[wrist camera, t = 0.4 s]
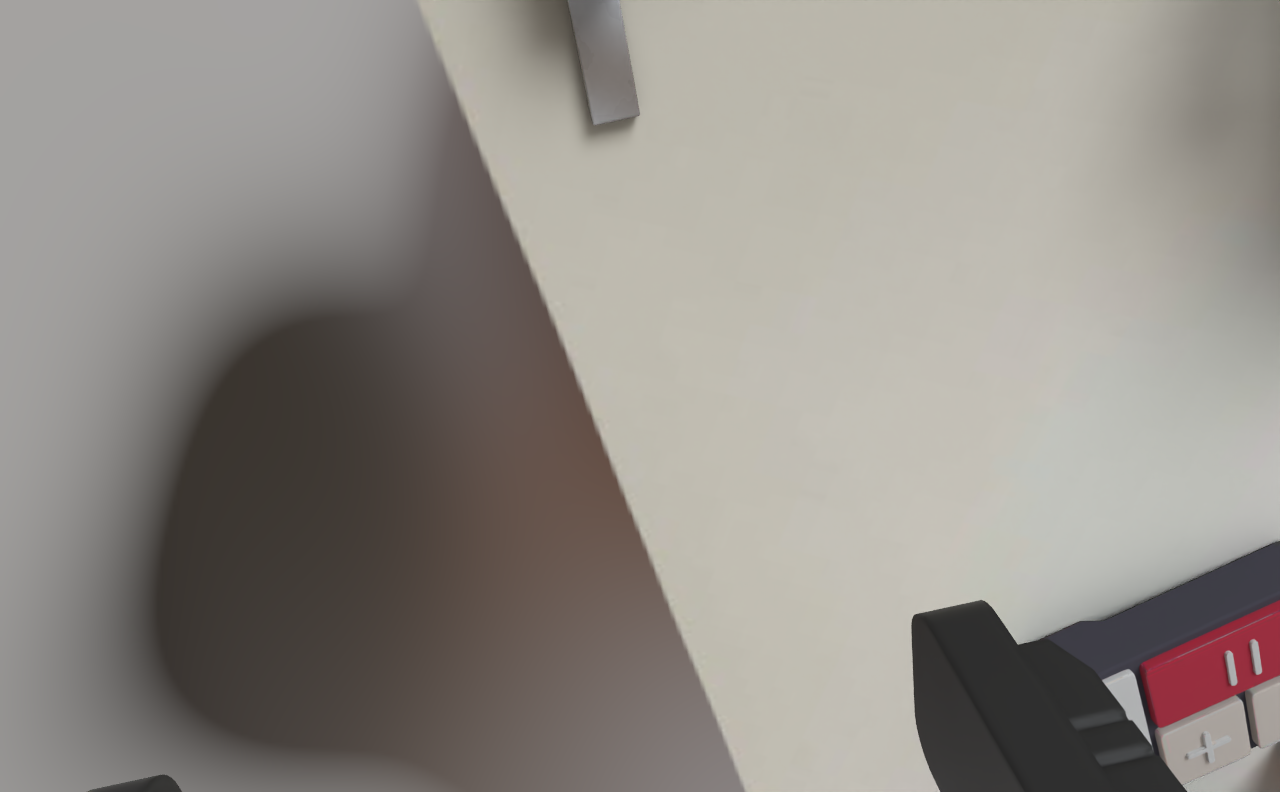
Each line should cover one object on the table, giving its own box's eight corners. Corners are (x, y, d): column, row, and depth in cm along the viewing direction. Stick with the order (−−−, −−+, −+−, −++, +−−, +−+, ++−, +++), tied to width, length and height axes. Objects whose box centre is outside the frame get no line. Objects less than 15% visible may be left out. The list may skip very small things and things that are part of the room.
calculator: (1352, 719, 52) (1099, 833, 52) (1291, 665, 56) (1056, 771, 56) (1341, 579, 47) (1061, 706, 47) (1274, 530, 50) (1016, 648, 51)
